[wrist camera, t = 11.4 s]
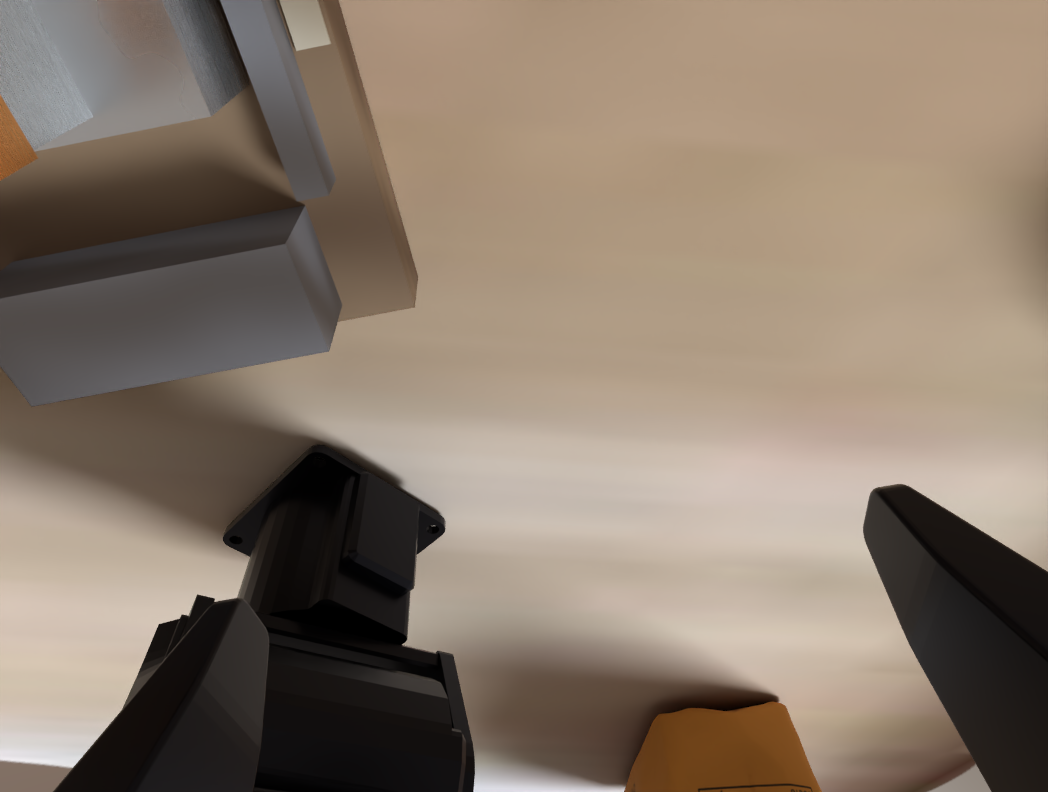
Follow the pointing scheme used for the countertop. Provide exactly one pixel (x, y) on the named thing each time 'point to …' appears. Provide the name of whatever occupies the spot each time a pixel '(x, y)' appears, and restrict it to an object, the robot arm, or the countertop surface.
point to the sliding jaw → (108, 70)
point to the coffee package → (723, 753)
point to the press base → (226, 183)
